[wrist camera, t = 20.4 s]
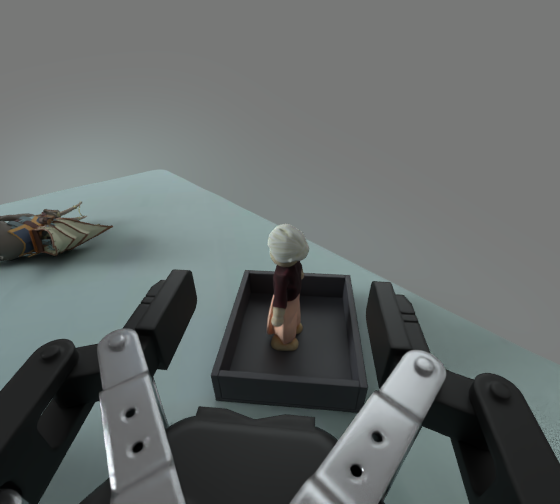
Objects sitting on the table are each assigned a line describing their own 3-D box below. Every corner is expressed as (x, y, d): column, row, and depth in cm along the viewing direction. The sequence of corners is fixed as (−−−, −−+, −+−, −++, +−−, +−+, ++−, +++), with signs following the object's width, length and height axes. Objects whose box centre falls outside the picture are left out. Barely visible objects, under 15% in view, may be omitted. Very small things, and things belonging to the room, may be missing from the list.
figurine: (25, 191, 53) (124, 191, 53) (39, 224, 56) (132, 223, 56) (-96, 246, 35) (53, 244, 36) (-67, 289, 38) (70, 287, 39)
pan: (215, 400, 26) (210, 375, 24) (246, 292, 38) (244, 269, 36) (362, 413, 25) (368, 388, 23) (347, 297, 37) (350, 274, 35)
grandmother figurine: (272, 310, 35) (268, 206, 28) (306, 312, 34) (311, 208, 27) (260, 369, 28) (252, 253, 21) (302, 373, 28) (308, 256, 21)
